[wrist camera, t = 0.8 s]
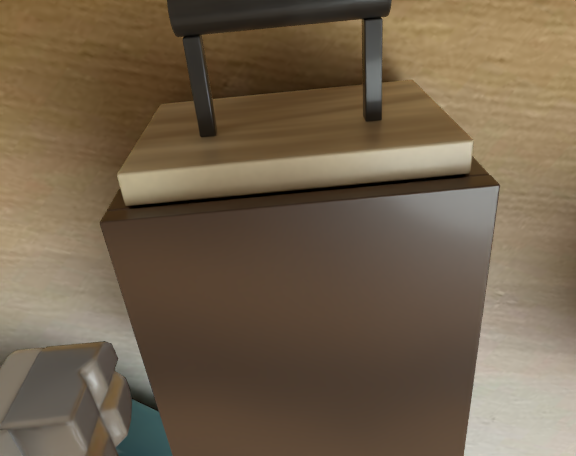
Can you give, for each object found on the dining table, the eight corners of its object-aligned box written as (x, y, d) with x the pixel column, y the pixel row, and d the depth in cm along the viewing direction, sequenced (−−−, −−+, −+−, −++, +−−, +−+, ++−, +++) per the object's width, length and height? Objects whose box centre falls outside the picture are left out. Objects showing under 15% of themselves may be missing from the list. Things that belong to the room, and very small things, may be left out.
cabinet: (156, 124, 24) (98, 222, 16) (419, 98, 24) (501, 184, 16) (206, 351, 32) (186, 499, 23) (409, 332, 31) (461, 475, 23)
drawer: (133, -18, 20) (67, 5, 14) (417, -47, 20) (493, -37, 14) (209, 331, 30) (192, 448, 23) (404, 313, 29) (445, 426, 23)
